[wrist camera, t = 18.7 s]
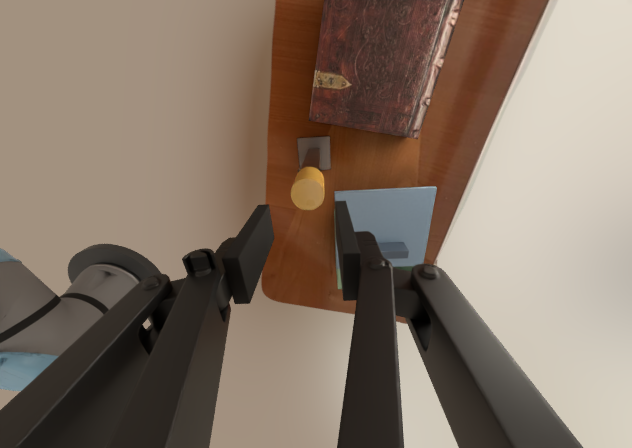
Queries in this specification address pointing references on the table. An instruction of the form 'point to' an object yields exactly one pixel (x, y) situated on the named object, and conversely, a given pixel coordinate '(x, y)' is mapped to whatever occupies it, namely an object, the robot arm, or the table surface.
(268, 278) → the table surface
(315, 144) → the stand
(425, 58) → the hardback book
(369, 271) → the robot arm
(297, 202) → the peg
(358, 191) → the lid
